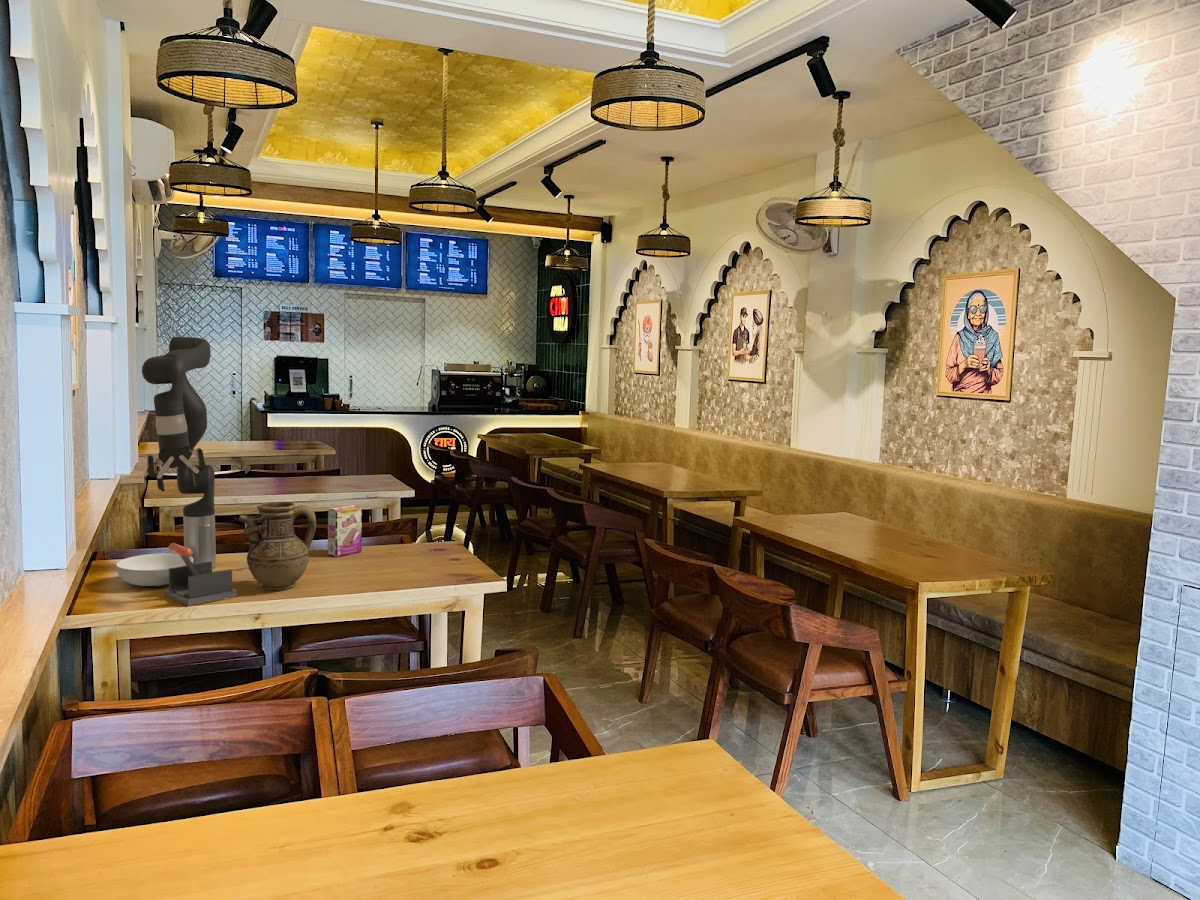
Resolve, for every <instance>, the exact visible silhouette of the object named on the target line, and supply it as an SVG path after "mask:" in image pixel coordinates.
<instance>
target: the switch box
mask: <svg viewBox="0 0 1200 900" xmlns="http://www.w3.org/2000/svg"><path fill="white" fill-rule="evenodd" d="M193 565H194V567H195V568H196V570H197V571H198V573H199V575H194V576H193V575H192V573H191V572H190V570H189V568H188V567H187V565H186V566H180V567H174V568H169V584H168V585H169V587H168V588H164V597H167V598H169V599H171V600H173V601H175V602H177V603H179V602H180V604H181V603H182V604H181V605H183V604H185V605H184V606H186V605H187V606H186V607H188V606H189V607H192V606H191V605H194V606H196V605H195V604H199V603H204V604H206V603H205V602H209V603H211V602H210V601H214V602H216V601H215V600H219V601H221V600H220V599H225V598H230V599H233V598H232V597H235V598H237V597H238V590H237V589H236V588H234V587H233V569H224V570H218V571H213V568H212V562H205V563H198V564H193ZM236 596H237V597H236ZM225 600H226V599H225ZM199 605H200V604H199Z"/></svg>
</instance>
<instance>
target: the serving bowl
mask: <svg viewBox="0 0 1200 900" xmlns="http://www.w3.org/2000/svg"><path fill="white" fill-rule="evenodd" d="M189 559H190V560H191V562H192V563H193V558H192V557H191V556H190V557H189ZM180 566H186V564H185V562H184V561H183V559H182V557H181V556H180V554H177V553H174V552H173V553H172V552H169V553H167V552H166V553H165V552H164V553H148V554H140V555H135V556H128V557H126V558H123V559H121V560H119V561H117V562H116V564H115V568H116V572H117V575H118V576H119V577H120V578H121V580H123V581H124V582H125V583H127V584H130V585H133V586H139V587H140V586H141V587H144V586H157V587H163V585H164V586H167V585H169V568H174V567H180Z"/></svg>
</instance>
